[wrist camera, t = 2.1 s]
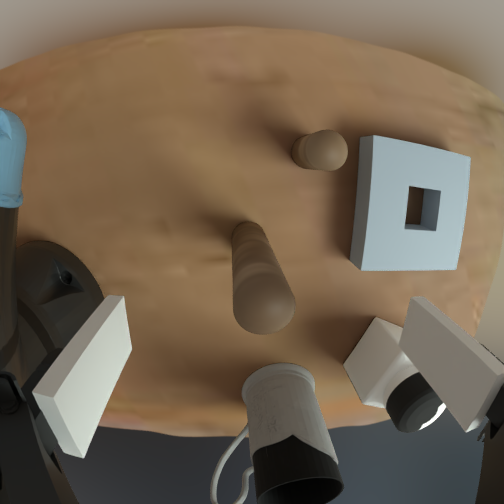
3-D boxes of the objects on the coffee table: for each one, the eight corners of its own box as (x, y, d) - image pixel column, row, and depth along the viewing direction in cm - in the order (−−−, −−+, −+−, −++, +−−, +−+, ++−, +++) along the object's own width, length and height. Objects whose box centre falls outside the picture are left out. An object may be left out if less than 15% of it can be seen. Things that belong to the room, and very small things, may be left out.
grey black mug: (327, 392, 34) (364, 489, 20) (234, 439, 36) (238, 533, 21) (291, 350, 32) (325, 460, 17) (191, 404, 33) (179, 509, 19)
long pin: (231, 253, 28) (232, 334, 15) (232, 221, 27) (233, 278, 14) (264, 254, 28) (292, 334, 15) (265, 222, 28) (298, 279, 14)
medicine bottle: (341, 365, 33) (378, 439, 21) (374, 315, 31) (429, 380, 20) (383, 376, 34) (424, 441, 23) (414, 332, 33) (468, 390, 21)
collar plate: (349, 260, 29) (360, 270, 26) (359, 137, 26) (373, 135, 23) (440, 261, 30) (455, 269, 27) (453, 156, 27) (470, 157, 24)
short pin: (290, 167, 26) (306, 169, 21) (292, 134, 26) (308, 127, 20) (322, 170, 27) (346, 172, 21) (324, 137, 26) (348, 132, 20)
